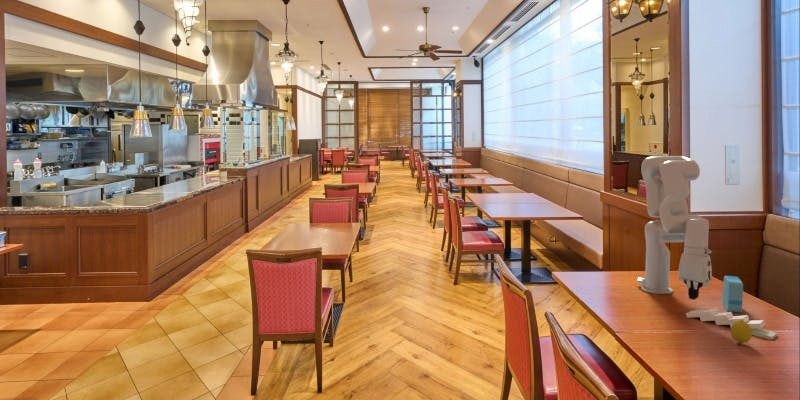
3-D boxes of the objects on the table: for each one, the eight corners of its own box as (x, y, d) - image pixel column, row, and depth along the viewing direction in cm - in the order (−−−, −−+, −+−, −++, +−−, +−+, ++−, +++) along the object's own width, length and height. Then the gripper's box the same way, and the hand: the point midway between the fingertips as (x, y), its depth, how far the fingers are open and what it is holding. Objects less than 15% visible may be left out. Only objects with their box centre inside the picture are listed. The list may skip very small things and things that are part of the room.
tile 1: (685, 313, 183) (711, 311, 176) (692, 310, 186) (716, 308, 179) (687, 317, 183) (712, 316, 176) (693, 314, 186) (718, 313, 179)
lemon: (726, 340, 161) (727, 317, 160) (741, 340, 161) (743, 316, 161) (739, 347, 156) (740, 323, 155) (755, 346, 156) (756, 322, 155)
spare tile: (740, 329, 169) (771, 336, 161) (745, 325, 171) (776, 333, 164) (740, 333, 169) (771, 341, 162) (745, 330, 172) (776, 337, 164)
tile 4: (729, 324, 172) (759, 323, 165) (734, 320, 175) (763, 320, 168) (730, 328, 171) (761, 328, 165) (735, 325, 175) (765, 324, 168)
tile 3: (715, 320, 175) (743, 318, 168) (719, 317, 178) (747, 315, 171) (716, 325, 175) (744, 322, 168) (721, 321, 178) (749, 319, 171)
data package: (741, 313, 186) (743, 283, 185) (727, 312, 188) (729, 282, 187) (735, 304, 197) (737, 275, 196) (722, 303, 199) (723, 274, 198)
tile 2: (699, 317, 179) (725, 315, 172) (705, 314, 182) (731, 312, 175) (701, 321, 179) (727, 319, 172) (706, 318, 182) (733, 316, 175)
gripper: (722, 253, 177) (719, 301, 179) (680, 246, 189) (677, 292, 191) (712, 255, 173) (709, 305, 175) (670, 248, 185) (667, 295, 187)
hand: (693, 298), depth 183 cm, fingers closed
